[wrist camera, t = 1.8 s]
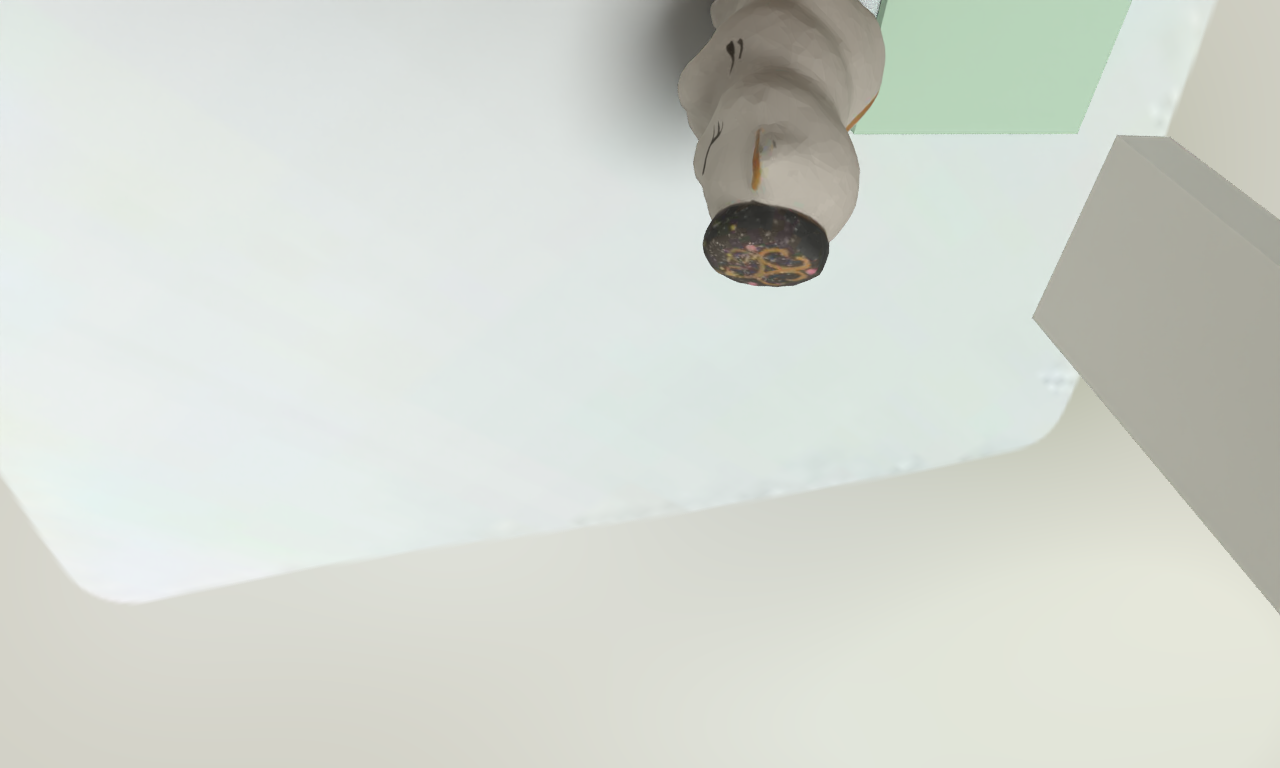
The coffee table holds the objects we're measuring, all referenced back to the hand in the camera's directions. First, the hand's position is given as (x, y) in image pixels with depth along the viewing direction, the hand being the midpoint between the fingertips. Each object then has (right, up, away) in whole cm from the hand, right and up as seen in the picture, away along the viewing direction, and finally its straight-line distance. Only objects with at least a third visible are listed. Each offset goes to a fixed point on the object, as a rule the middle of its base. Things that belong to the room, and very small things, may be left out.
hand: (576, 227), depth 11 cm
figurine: (+5, +13, +32) cm, 35 cm away
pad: (+17, +15, +33) cm, 41 cm away
